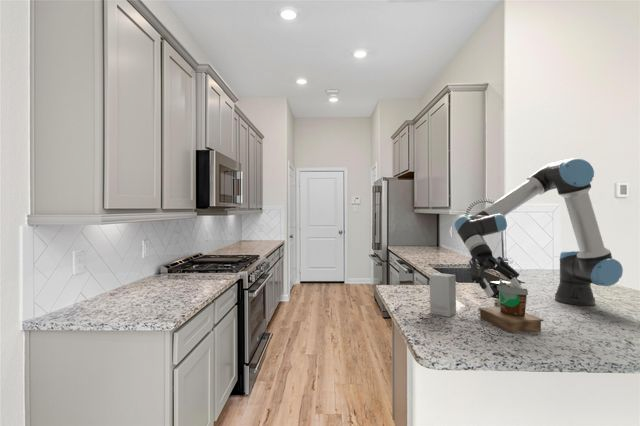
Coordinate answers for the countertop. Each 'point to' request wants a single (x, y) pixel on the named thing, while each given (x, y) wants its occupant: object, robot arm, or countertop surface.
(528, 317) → the stand
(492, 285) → the pneumatic valve
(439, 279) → the skincare box
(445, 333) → the countertop surface
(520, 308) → the food container
